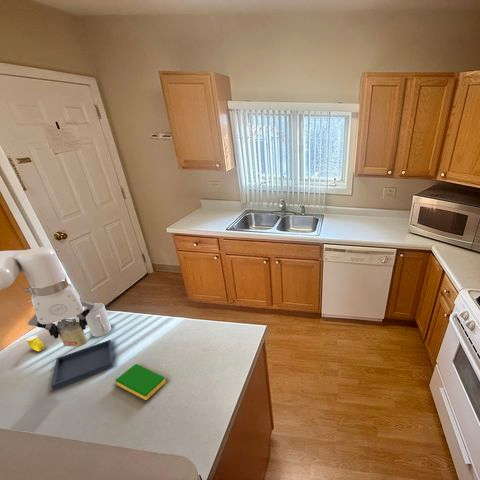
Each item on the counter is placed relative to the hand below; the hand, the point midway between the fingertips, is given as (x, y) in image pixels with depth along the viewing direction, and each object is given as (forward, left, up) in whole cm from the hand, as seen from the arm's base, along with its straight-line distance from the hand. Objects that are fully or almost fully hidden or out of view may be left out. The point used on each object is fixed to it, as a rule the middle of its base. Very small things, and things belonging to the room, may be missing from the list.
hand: (70, 331), depth 85 cm
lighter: (0, 0, -5) cm, 5 cm away
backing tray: (0, 0, -16) cm, 16 cm away
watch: (-14, +18, -16) cm, 28 cm away
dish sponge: (+15, -20, -16) cm, 30 cm away
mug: (+5, +15, -16) cm, 22 cm away
